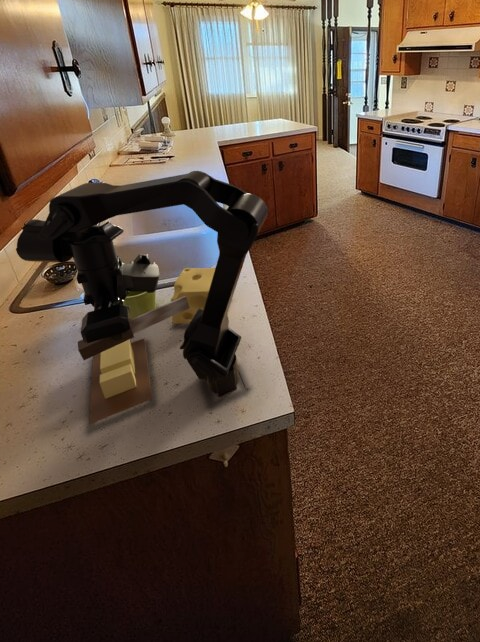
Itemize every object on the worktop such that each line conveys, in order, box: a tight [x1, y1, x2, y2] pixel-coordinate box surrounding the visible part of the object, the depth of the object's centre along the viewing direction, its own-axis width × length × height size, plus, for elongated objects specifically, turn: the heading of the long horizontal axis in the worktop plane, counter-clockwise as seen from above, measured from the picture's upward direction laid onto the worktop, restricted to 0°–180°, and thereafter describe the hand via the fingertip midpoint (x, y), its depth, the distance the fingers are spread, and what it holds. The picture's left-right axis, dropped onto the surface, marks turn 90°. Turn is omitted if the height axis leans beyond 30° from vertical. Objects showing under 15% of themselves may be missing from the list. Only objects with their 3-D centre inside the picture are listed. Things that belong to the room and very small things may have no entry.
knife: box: [77, 296, 190, 361], centre depth 65 cm, size 18×2×3 cm, turn 126°
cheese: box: [170, 267, 216, 325], centre depth 84 cm, size 10×11×10 cm
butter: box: [100, 339, 135, 374], centre depth 68 cm, size 6×5×4 cm
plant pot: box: [124, 291, 157, 320], centre depth 83 cm, size 9×9×9 cm
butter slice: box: [100, 364, 136, 399], centre depth 64 cm, size 2×5×4 cm, turn 120°
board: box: [88, 338, 153, 425], centre depth 67 cm, size 17×10×1 cm, turn 29°
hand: (118, 335), depth 63 cm, fingers closed on knife, 2 cm apart
